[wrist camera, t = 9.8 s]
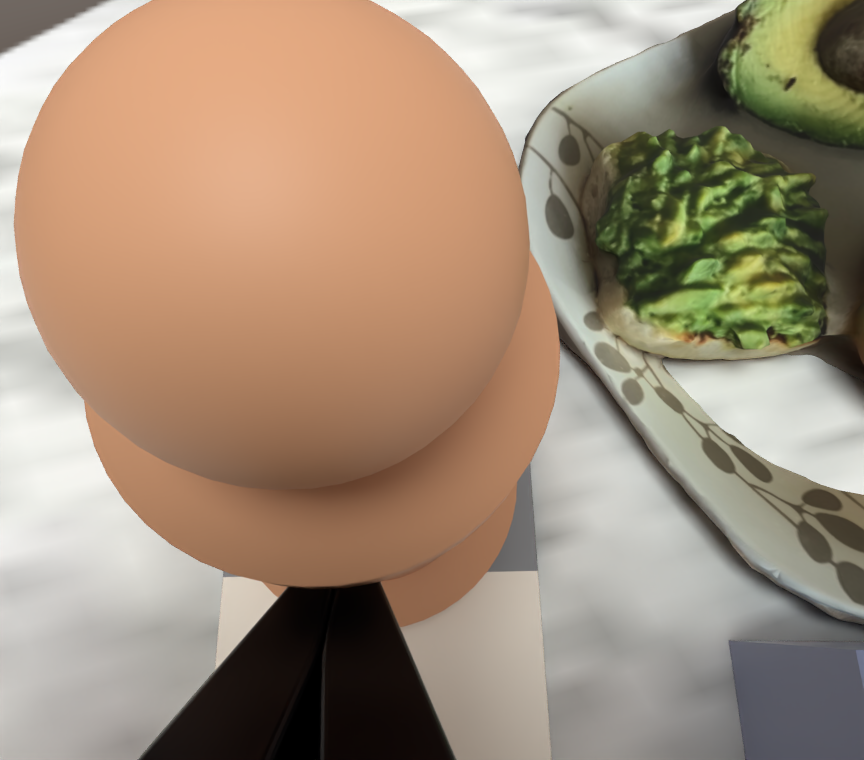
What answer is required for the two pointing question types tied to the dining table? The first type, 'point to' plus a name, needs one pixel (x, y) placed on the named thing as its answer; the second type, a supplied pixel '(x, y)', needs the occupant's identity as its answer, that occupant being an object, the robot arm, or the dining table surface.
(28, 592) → the dining table surface
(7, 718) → the dining table surface
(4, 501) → the dining table surface
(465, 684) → the board
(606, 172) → the salad plate
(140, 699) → the dining table surface
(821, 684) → the die
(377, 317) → the pawn
